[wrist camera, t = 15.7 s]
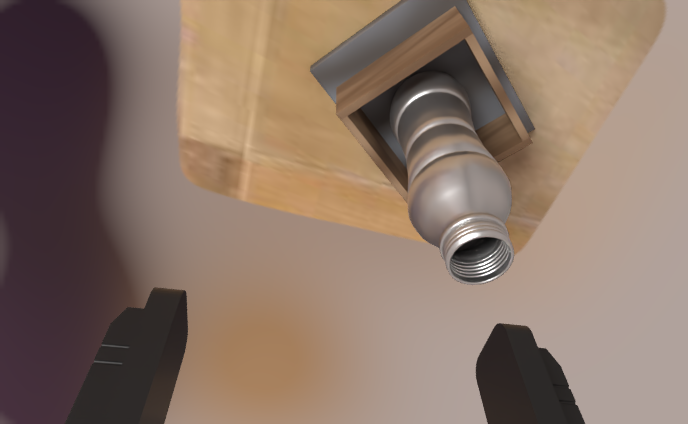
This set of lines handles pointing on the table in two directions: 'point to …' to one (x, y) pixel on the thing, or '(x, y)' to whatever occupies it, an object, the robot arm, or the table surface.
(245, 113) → the table surface
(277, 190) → the table surface
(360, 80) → the bottle holder
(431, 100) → the metal bottle
